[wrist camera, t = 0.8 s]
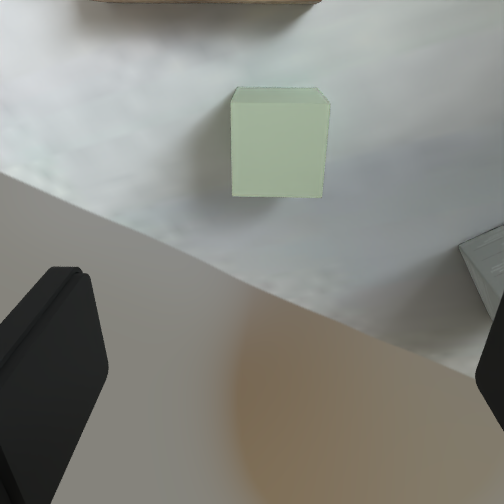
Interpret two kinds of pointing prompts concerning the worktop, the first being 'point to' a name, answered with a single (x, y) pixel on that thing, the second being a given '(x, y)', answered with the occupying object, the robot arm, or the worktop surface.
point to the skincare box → (486, 266)
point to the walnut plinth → (216, 1)
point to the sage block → (278, 142)
